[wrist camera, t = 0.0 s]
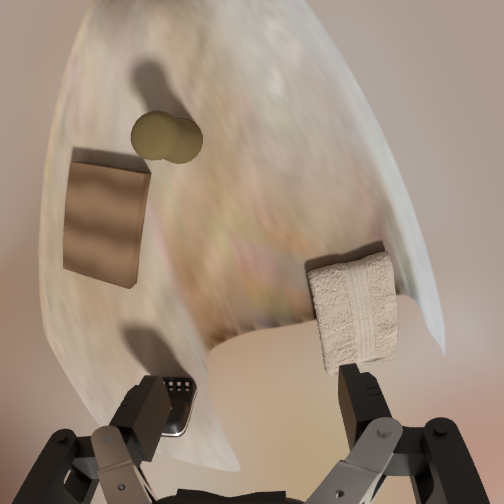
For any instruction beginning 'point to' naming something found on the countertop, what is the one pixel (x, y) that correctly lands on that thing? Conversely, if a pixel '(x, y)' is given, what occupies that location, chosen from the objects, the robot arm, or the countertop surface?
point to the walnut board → (104, 222)
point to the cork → (166, 138)
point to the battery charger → (179, 405)
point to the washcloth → (356, 311)
